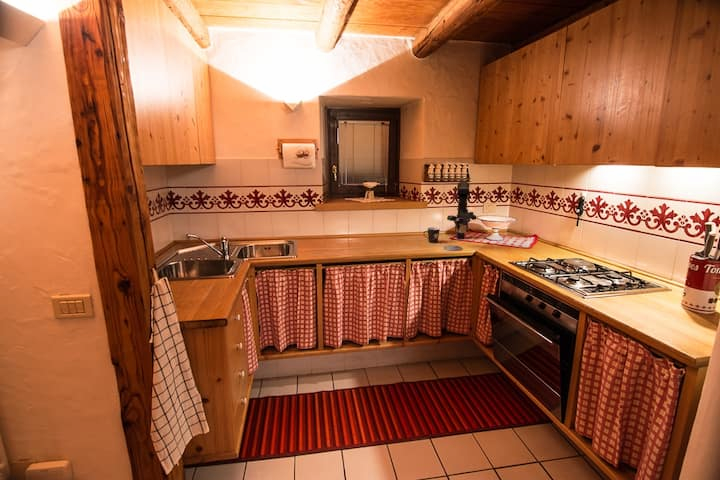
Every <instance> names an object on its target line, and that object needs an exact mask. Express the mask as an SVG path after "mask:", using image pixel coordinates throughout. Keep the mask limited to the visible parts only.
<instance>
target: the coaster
mask: <svg viewBox="0 0 720 480" xmlns="http://www.w3.org/2000/svg"><path fill="white" fill-rule="evenodd" d="M443 250H445V251H451V252H458V251H461V250H463V248H462V246H459V245H455V244H454V245H443Z"/></svg>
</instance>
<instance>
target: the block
mask: <svg viewBox="0 0 720 480" xmlns="http://www.w3.org/2000/svg"><path fill="white" fill-rule="evenodd" d="M455 231H456V233H457V232H459V233H465V234H466V233H467V231H466V225H464V224H459V231H458V230H457V227H456V230H455Z"/></svg>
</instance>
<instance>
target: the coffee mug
mask: <svg viewBox="0 0 720 480" xmlns="http://www.w3.org/2000/svg"><path fill="white" fill-rule="evenodd" d="M440 231H441V229H440V228H439V227H435V226H433V227H427V230H425V231H423V236H424V238H426V239H428V243H429V244H437V243H439V236H440ZM426 232H427V236H426V235H425V233H426Z"/></svg>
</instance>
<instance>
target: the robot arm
mask: <svg viewBox="0 0 720 480" xmlns="http://www.w3.org/2000/svg"><path fill="white" fill-rule="evenodd" d="M456 195H457V196H456V200H458V201H457V208H456V210H457V214H456V215H452V214H451V215H447V218H446V220H447V221H449V222H453V223H454V224H455V227H454V230H455V231H456V227H457V230H458V231H459V224H464V225H466V232H467V231H468V230H469V228H468V227H469V223H470V222H471V221H475V220H477V215H476V214H474V212H473V211H469V209H468V200H469V199H471V191H470V183H469V182H468V180H460V181H459V182H457V187H456ZM465 235H466V233H459V232H457V231H456V236H454V238H455V239H458V240H462V239H464V240H465V238H466V236H465Z"/></svg>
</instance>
